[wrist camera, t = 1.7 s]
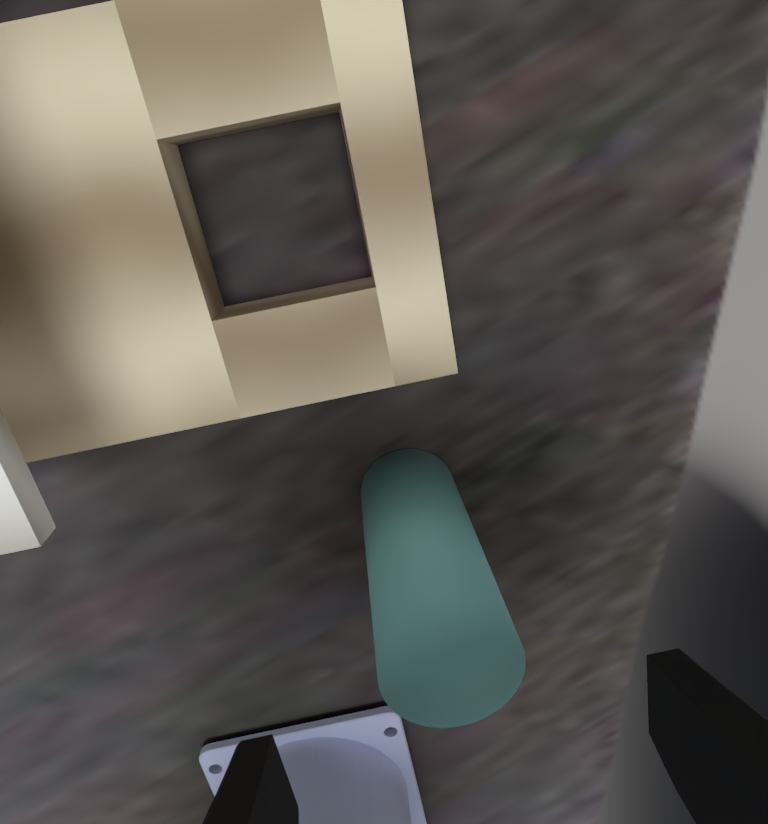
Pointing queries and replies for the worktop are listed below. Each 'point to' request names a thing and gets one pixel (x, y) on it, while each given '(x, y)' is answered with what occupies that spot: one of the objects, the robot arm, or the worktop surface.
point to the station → (193, 226)
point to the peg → (433, 598)
